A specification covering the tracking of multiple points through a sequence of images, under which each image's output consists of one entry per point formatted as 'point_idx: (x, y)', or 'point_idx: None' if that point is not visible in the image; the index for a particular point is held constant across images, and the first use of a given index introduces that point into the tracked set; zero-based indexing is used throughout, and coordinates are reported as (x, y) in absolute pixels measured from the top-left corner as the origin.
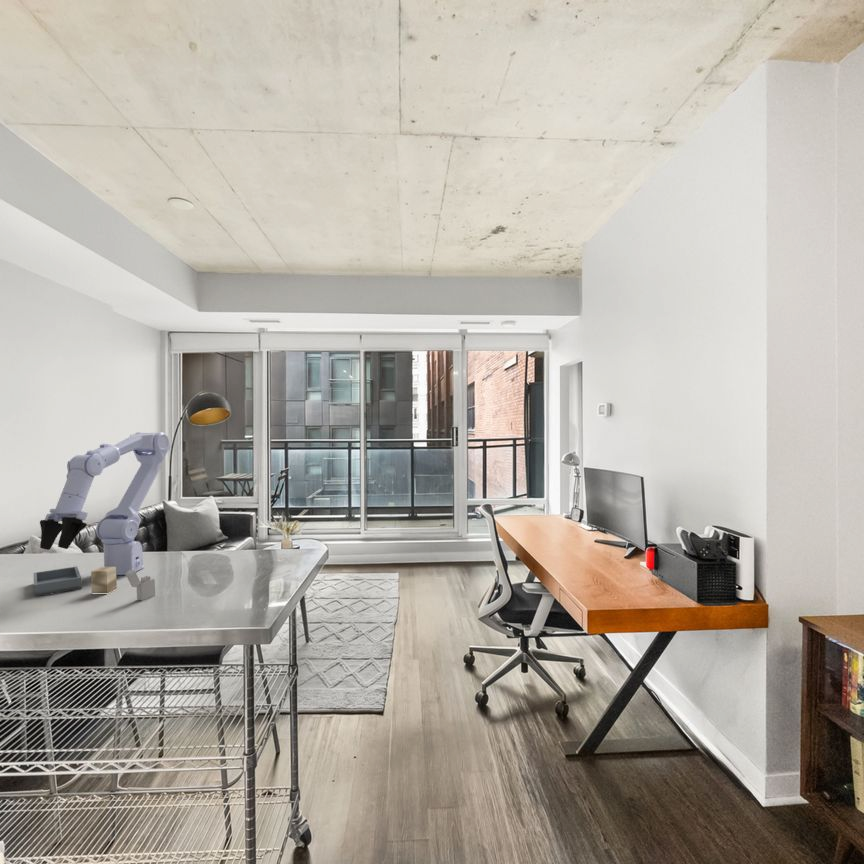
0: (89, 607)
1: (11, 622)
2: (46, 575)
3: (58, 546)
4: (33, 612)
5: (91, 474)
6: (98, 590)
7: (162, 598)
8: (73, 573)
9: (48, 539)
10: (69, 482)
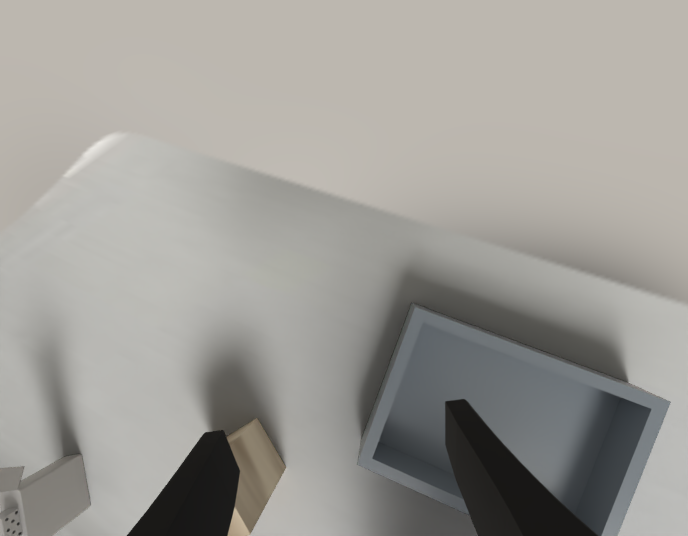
0: (136, 344)
1: (197, 162)
2: (622, 436)
3: (219, 433)
4: (234, 232)
5: None
6: (230, 436)
7: None
8: None
9: (480, 500)
10: None
